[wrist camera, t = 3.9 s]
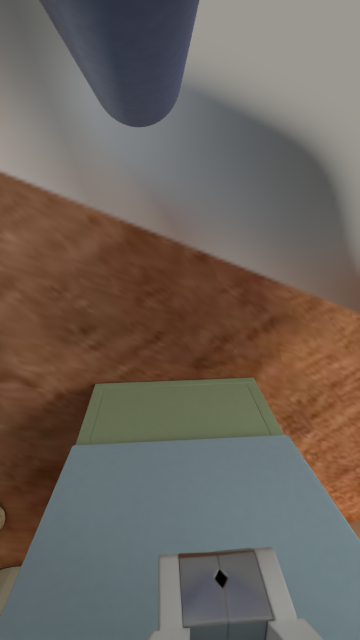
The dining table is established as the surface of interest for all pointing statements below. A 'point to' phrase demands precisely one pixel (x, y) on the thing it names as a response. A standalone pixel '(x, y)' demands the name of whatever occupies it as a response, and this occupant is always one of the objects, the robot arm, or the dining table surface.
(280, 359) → the dining table surface
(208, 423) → the display box
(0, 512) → the sprinkles bottle
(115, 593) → the hatch
